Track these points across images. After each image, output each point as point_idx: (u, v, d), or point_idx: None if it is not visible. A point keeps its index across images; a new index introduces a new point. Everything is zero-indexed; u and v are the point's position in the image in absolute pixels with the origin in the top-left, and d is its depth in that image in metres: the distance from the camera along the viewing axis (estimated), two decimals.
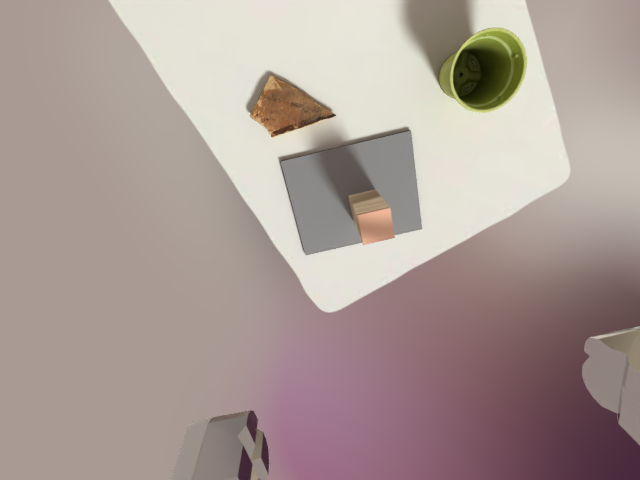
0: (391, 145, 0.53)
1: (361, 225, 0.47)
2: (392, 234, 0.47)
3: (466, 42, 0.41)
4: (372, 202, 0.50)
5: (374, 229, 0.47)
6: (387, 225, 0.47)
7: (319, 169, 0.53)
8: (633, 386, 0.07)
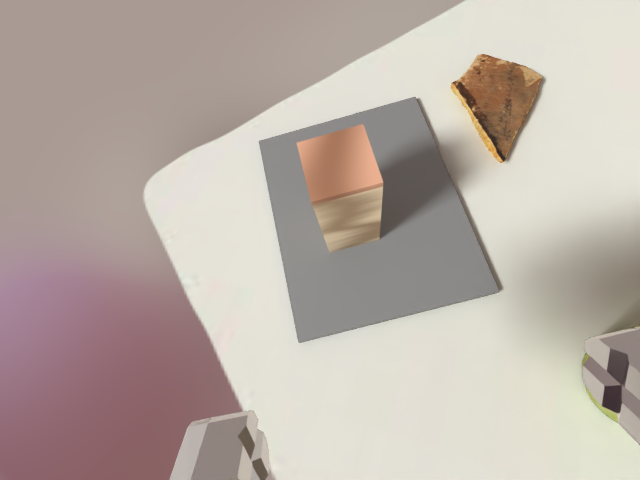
0: (466, 258, 0.28)
1: (340, 133, 0.22)
2: (319, 196, 0.21)
3: None
4: None
5: (330, 159, 0.21)
6: (341, 182, 0.21)
7: (408, 148, 0.32)
8: (633, 385, 0.07)
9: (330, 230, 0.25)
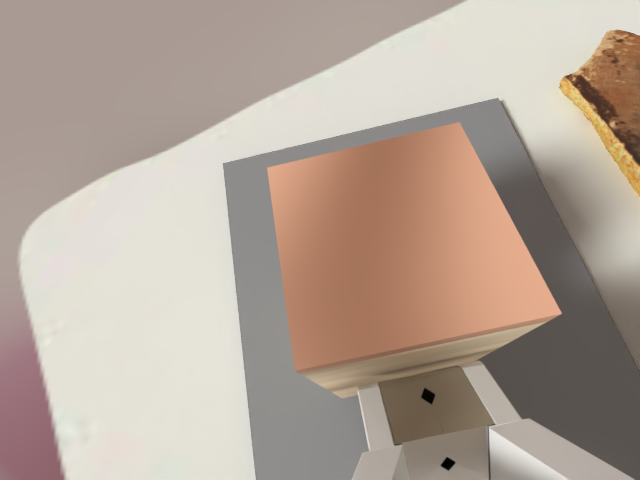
0: (633, 438, 0.13)
1: (394, 146, 0.08)
2: (325, 348, 0.06)
3: None
4: None
5: (365, 219, 0.07)
6: (402, 302, 0.06)
7: None
8: None
9: (350, 386, 0.10)
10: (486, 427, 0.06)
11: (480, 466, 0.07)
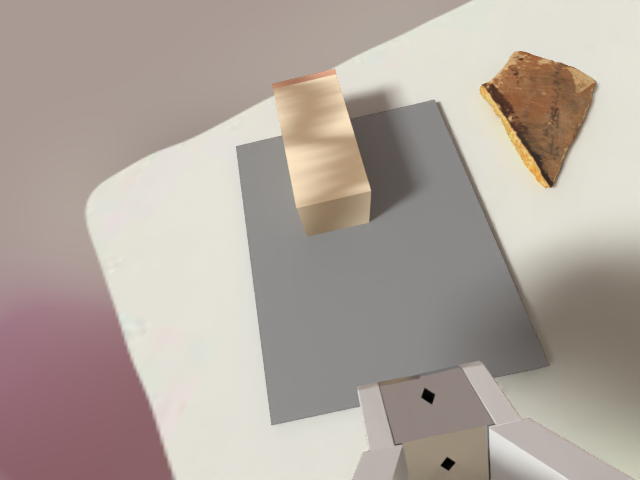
0: (502, 315, 0.21)
1: None
2: None
3: None
4: None
5: None
6: None
7: (425, 164, 0.25)
8: None
9: (293, 140, 0.22)
10: (486, 427, 0.06)
11: (480, 466, 0.07)
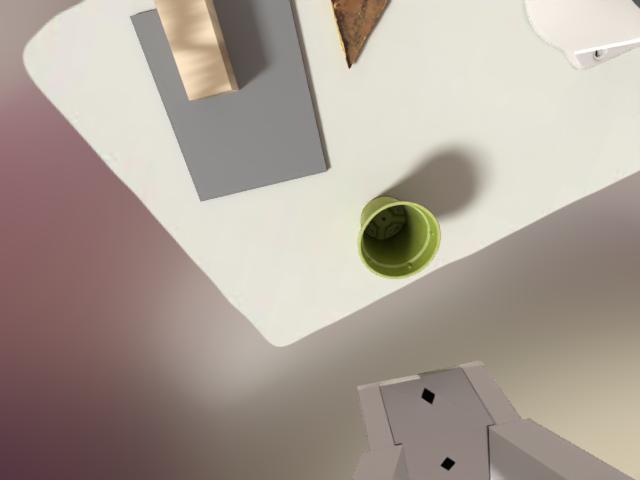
0: (309, 148, 0.41)
1: None
2: None
3: (430, 213, 0.37)
4: (214, 24, 0.34)
5: None
6: None
7: (275, 43, 0.37)
8: None
9: (177, 46, 0.33)
10: (486, 427, 0.06)
11: (480, 466, 0.07)
